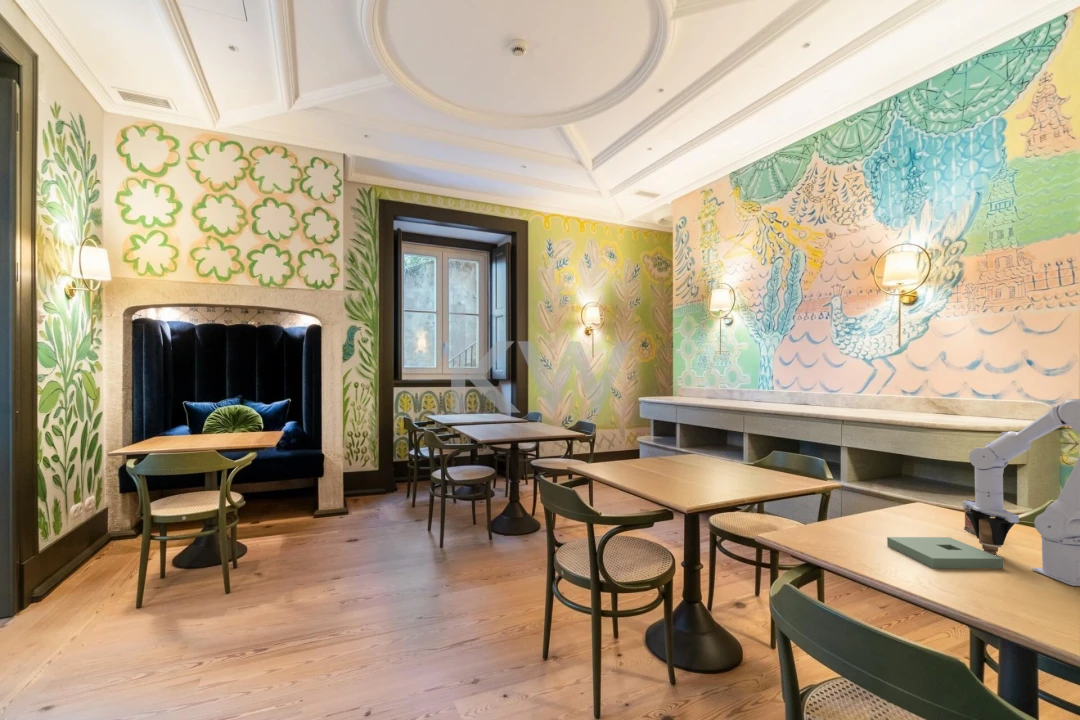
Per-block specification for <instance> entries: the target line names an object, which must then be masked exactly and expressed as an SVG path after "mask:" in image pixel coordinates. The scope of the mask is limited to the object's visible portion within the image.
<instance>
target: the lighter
mask: <svg viewBox="0 0 1080 720" xmlns="http://www.w3.org/2000/svg"><path fill="white" fill-rule="evenodd" d="M965 501H972V502H975V499H974V500H973V499H971V498H970V499H969V498H967V499H966V500H965ZM963 510H964V527H963V530H964V531H965V530H966V531H965V532H967V531H968V532H967V533H969V532H970V534H972V533H973V534H972V535H974V534H976V533H975V530H974V527H973V525H972V523H971V521H970V519H969V517H968V516H967V515H966V511H970V510H971V509H969V508H963Z"/></svg>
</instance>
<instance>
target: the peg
mask: <svg viewBox="0 0 1080 720" xmlns="http://www.w3.org/2000/svg"><path fill="white" fill-rule="evenodd" d="M978 543H979V544H980V545H981V547H982V548H981V550H982V549H983V551H985V552H988V553H990V554H993V555H997V552H998V551H999V548H1001V547H1002V545H995V544H994V543H993V539H992V530H991V527H990V524H989V522H988V520H987V519H979V538H978Z"/></svg>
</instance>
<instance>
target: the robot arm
mask: <svg viewBox="0 0 1080 720" xmlns="http://www.w3.org/2000/svg"><path fill="white" fill-rule="evenodd" d="M1064 426H1069V427H1070V428H1071V429H1073V430H1074V431H1076V432H1078V433H1079V434H1080V398H1069V399H1067V400H1064V401H1062V402H1061V403H1060V404H1058V405H1055V406H1053V407H1051V409H1049V410H1048V411H1047V412H1046V413H1044V414H1043V415H1041V416H1040V417H1038V418H1037V419H1035V420H1034V421H1032V422H1031V423H1030V424H1028V425H1026V426H1024V427H1023V428H1022V429H1020V430H1019V431H1013V430H1011V431H1002V432H1000V433H999V437H998V438H996V439H995V440H992V441H991V442H986V443H985V444H984V447H975V448H973V449H972V451H971V452H970V453H969V456H968V458H969V459H968V460H969V462H970V464H971V465H972V466H973V467H974V498H975V499H974V501H975V502H972V501H966V500H962V508H963V509H964V508H969V509H971V510H970V511H966V515H967V516H968V517H969V519H970V521H971V523H972V525H973V527H974V530H975V533H976V535H975V536H976V539H979V519H987V520H988V522H989V524H990V527H991V530H992V539H993V543H994V544H995V545H1001V546H1004V543H1005V540H1006V537H1007V535H1008V534H1009V531H1010V530H1011V528H1012V527H1013V526H1014V525H1015V524H1018V523H1020V519H1019V517H1020V515H1018V514H1015V513H1012V512H1011V511H1008V510H1006V509H1004V507H1005V506H1004V476H1003V475H1004V469H1005V468H1006V467H1007V466H1008V465H1009V461H1011V460H1013V459H1015V458H1017V457H1019V456H1020V455H1022V454H1024V453H1025V452H1027V451H1030V450H1031V447H1032V442H1034V441H1036V440H1038V439H1039V438H1041V437H1044V436H1046V435H1047V434H1049V433H1052V432H1053V431H1056V430H1057V429H1058V428H1062V427H1064ZM1033 521H1034V522H1033V523H1034V524H1033V525H1034V528H1035V529H1036V531H1037V532H1038V533H1039V534H1040V535H1041V536H1040V538H1041V563H1042V567H1032V568H1031V570H1032V571H1035V572H1037V573H1039V574H1041V575H1044V576H1046V577H1049V578H1052V579H1054V580H1057V581H1059V582H1062V583H1065V584H1066V585H1068V586H1071V587H1080V456H1078V459H1077V461H1076V463H1075V465H1074V467H1073V468H1072V471H1071V473H1070V474H1069V476H1068V478H1067V480H1066V481H1065V484H1064V486H1063V488H1062V490H1061V491H1060V494H1059V495H1058V497H1057V499H1056V500H1054V501H1053V502H1051V503H1050V504H1049V505H1048V506H1047V507H1046V509H1044V511H1043V512H1042V513H1040V514H1038V515H1036V517H1035V519H1034V520H1033Z"/></svg>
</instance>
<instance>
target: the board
mask: <svg viewBox="0 0 1080 720" xmlns="http://www.w3.org/2000/svg"><path fill="white" fill-rule="evenodd" d="M886 539H887V540H886V541H887V542H886V543H887V547H888V548H891V549H893V550H895V551H897V552H899V553H901V554H903V555H905V556H907V557H908V558H911V559H913V560H915V561H917V562H919V563H921V564H923V565H925V566H927V567H929V568H931V569H975V568H990V570H991V568H992V569H997V570H999V569H1000V568H1002V569H1004V558H1002V557H1000V556H995V555H993V554H990V553H988V552H985V551H984V549H983V550H982V549H980V548H977V547H975V546H972V545H970V544H967V543H965V542H962V541H960V540H958V539H955V538H952V537H949V536H947V537H946V536H945V537H941V536H937V537H936V536H935V537H934V536H933V537H931V536H920V537H919V536H917V537H915V536H899V537H898V536H887V538H886ZM1000 570H1001V569H1000Z"/></svg>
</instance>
